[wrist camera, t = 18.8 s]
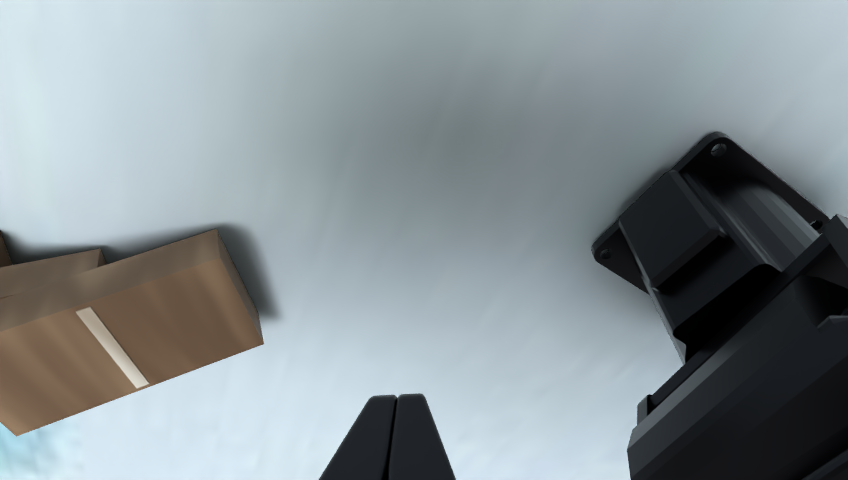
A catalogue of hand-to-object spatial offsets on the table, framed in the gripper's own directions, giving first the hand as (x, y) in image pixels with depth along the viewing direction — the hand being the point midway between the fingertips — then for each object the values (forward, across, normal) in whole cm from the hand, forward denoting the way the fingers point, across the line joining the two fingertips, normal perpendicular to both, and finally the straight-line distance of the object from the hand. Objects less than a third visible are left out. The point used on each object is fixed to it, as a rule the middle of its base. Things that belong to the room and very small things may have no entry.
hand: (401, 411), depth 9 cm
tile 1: (+12, +8, +6) cm, 16 cm away
